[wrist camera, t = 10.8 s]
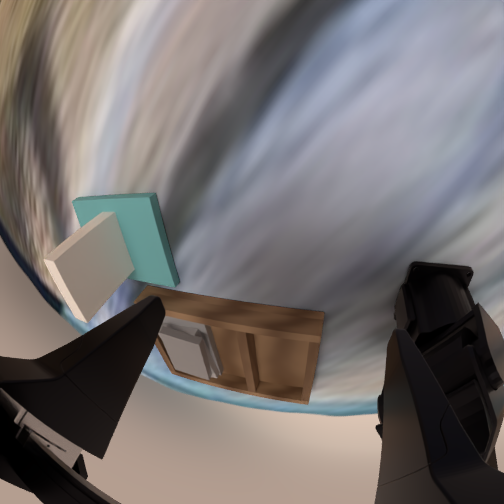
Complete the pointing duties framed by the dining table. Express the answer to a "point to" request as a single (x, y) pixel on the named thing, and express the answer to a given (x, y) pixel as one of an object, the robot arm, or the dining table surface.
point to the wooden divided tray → (251, 343)
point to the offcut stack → (191, 347)
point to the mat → (136, 233)
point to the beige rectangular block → (90, 265)
